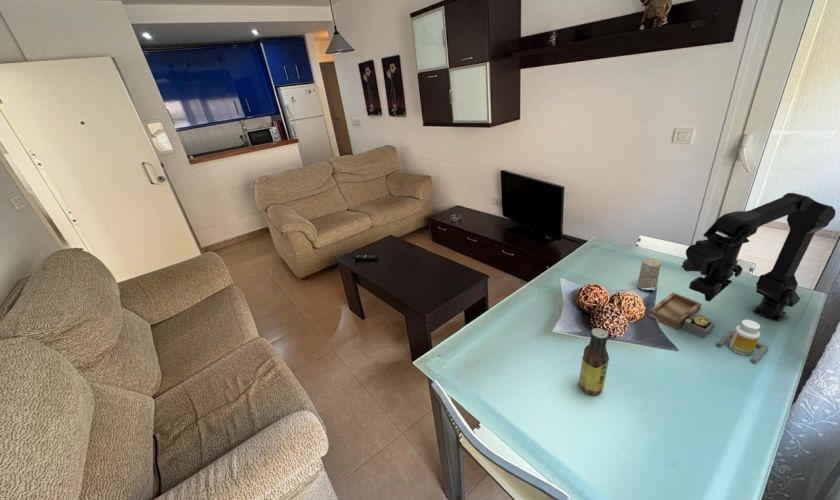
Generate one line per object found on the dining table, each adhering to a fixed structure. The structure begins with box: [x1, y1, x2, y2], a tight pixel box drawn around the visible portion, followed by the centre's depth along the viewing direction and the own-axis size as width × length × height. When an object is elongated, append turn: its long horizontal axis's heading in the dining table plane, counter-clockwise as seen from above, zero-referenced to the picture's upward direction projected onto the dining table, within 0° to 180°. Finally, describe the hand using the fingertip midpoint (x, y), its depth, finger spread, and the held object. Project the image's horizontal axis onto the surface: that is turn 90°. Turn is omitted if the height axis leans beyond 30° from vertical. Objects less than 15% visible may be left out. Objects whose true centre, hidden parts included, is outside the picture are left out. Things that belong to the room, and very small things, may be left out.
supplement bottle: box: [728, 319, 761, 356], centre depth 100 cm, size 5×5×10 cm
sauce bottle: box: [578, 327, 610, 396], centre depth 92 cm, size 6×6×20 cm
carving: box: [637, 258, 662, 289], centre depth 129 cm, size 6×8×12 cm
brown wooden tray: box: [648, 292, 703, 331], centre depth 118 cm, size 16×9×3 cm, turn 122°
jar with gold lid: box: [692, 314, 710, 329], centre depth 109 cm, size 4×4×3 cm
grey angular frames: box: [682, 314, 770, 365], centre depth 105 cm, size 9×19×4 cm, turn 32°
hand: (708, 300), depth 105 cm, fingers closed
